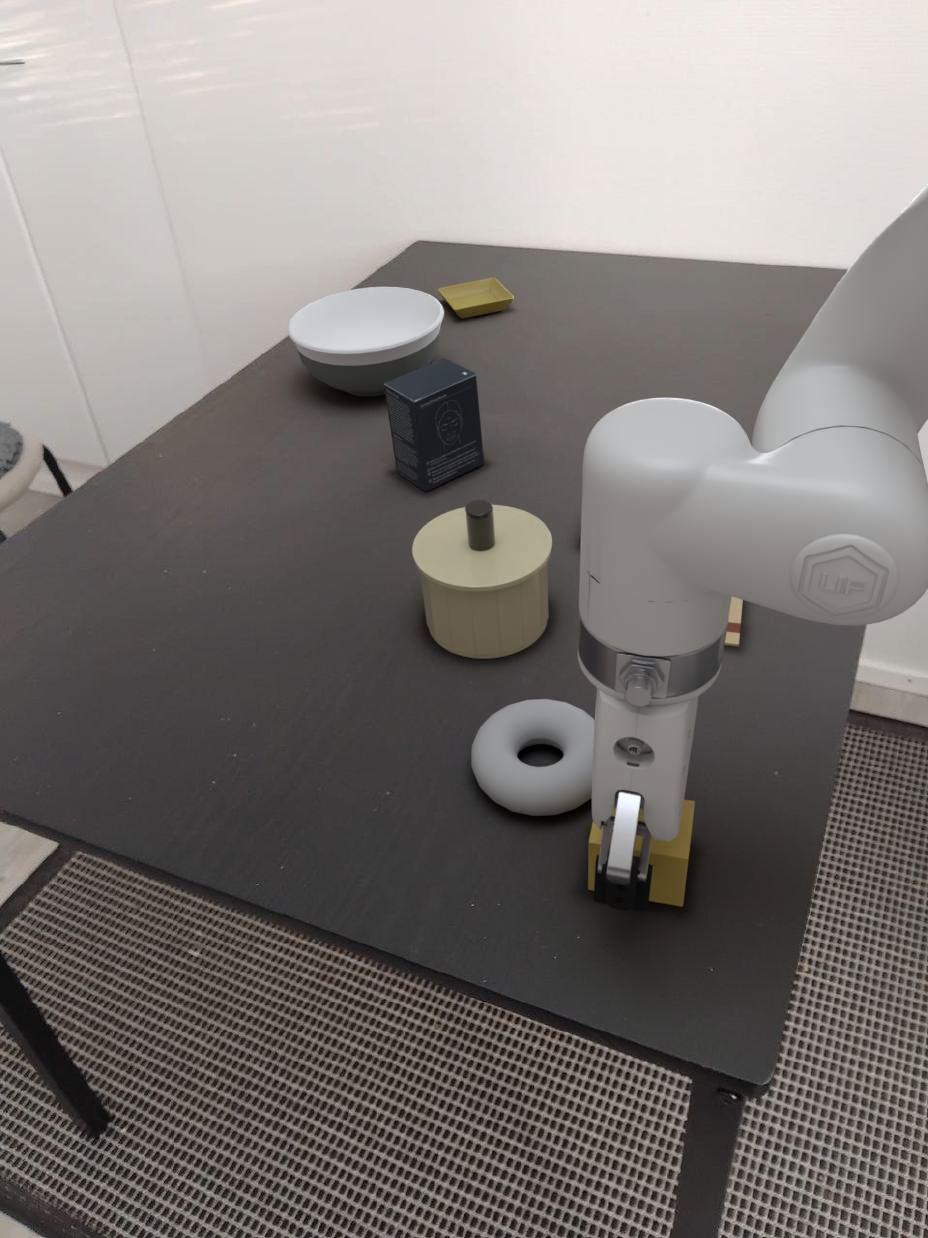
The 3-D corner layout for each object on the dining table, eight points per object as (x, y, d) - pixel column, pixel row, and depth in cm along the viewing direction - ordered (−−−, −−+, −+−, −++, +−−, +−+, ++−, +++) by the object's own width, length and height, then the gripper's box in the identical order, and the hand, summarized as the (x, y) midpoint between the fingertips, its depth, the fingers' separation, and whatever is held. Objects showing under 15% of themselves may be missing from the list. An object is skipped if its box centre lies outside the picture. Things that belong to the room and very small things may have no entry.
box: (453, 446, 107) (445, 355, 101) (485, 465, 104) (478, 373, 97) (394, 472, 104) (381, 381, 97) (425, 493, 100) (413, 400, 94)
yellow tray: (437, 302, 139) (436, 287, 137) (495, 290, 140) (494, 276, 139) (455, 324, 132) (454, 309, 131) (515, 312, 134) (515, 297, 132)
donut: (638, 767, 71) (535, 700, 76) (641, 735, 68) (535, 668, 74) (546, 852, 66) (443, 774, 71) (545, 820, 63) (439, 742, 69)
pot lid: (548, 510, 84) (546, 464, 81) (557, 593, 75) (556, 545, 72) (416, 519, 85) (410, 473, 82) (410, 602, 76) (403, 554, 73)
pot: (544, 577, 88) (542, 508, 83) (552, 655, 80) (550, 583, 75) (429, 584, 89) (421, 516, 84) (425, 662, 81) (416, 591, 76)
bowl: (412, 425, 112) (404, 357, 106) (271, 407, 118) (257, 342, 112) (472, 354, 125) (467, 291, 119) (342, 341, 131) (332, 280, 125)
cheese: (689, 849, 65) (695, 800, 61) (682, 907, 61) (688, 859, 58) (599, 834, 66) (600, 786, 63) (588, 890, 63) (588, 842, 60)
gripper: (711, 771, 44) (678, 974, 55) (734, 546, 56) (703, 747, 67) (546, 745, 45) (546, 946, 56) (604, 532, 58) (595, 730, 69)
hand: (631, 838), depth 62 cm, fingers open, 9 cm apart
